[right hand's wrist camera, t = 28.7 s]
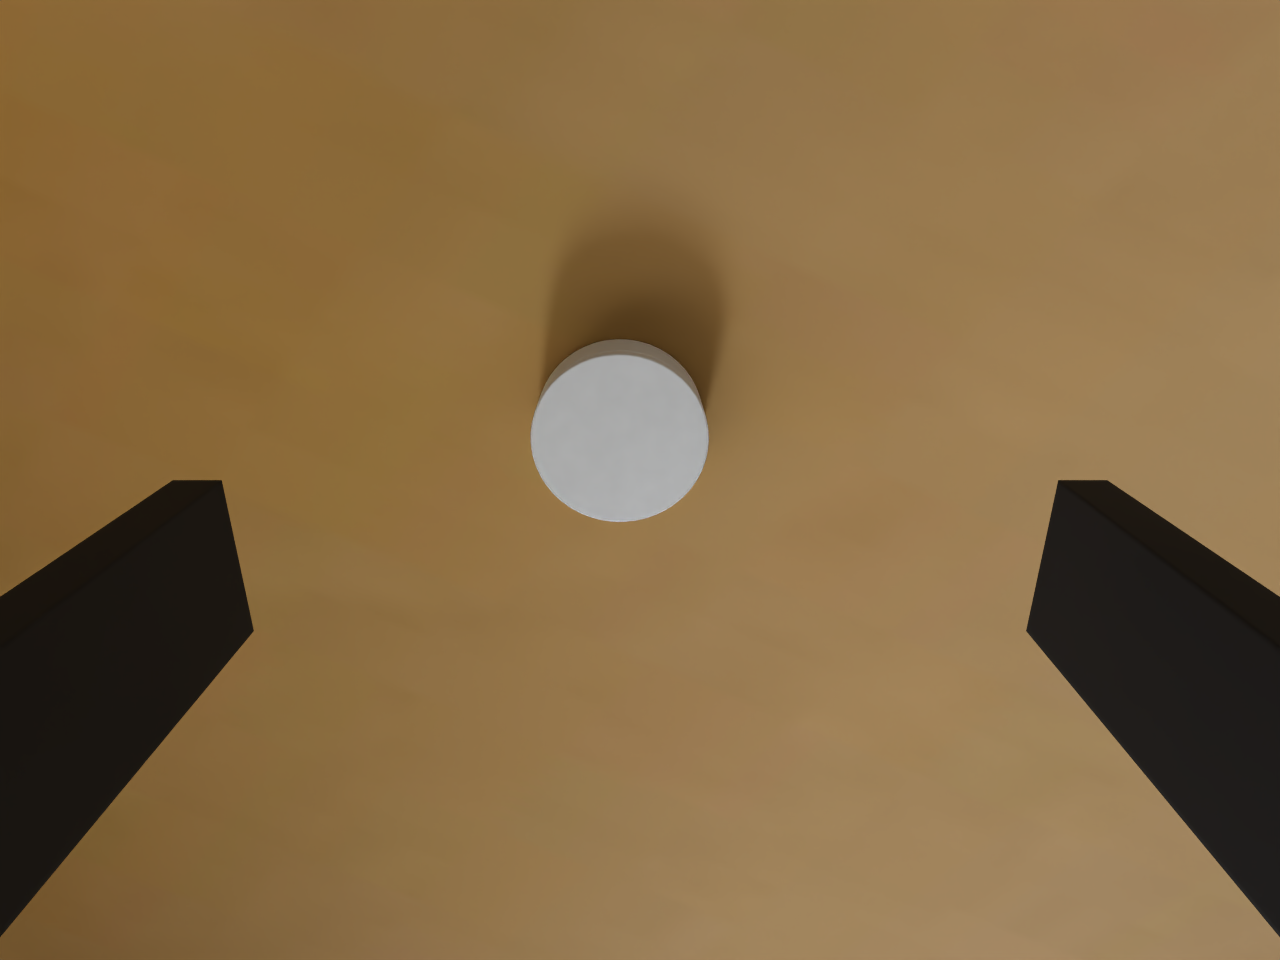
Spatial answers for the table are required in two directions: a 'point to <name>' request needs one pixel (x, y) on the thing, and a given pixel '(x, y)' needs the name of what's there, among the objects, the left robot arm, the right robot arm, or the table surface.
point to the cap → (619, 431)
